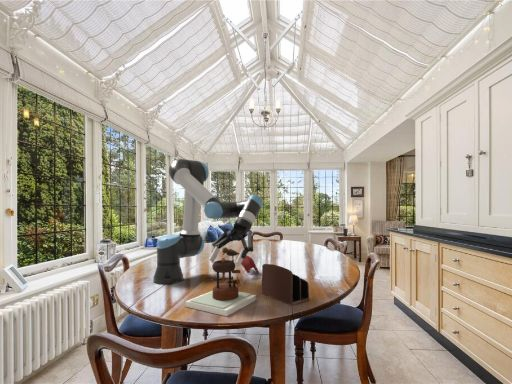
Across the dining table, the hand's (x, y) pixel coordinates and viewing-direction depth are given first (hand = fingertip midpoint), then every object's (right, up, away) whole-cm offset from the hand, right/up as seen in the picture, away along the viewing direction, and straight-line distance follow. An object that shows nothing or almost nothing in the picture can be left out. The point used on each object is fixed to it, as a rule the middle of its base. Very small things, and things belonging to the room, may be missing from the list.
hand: (223, 262), depth 120 cm
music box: (0, -14, 0) cm, 14 cm away
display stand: (-1, -16, -1) cm, 16 cm away
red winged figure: (+9, -18, +51) cm, 55 cm away
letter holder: (+25, -17, +7) cm, 31 cm away
